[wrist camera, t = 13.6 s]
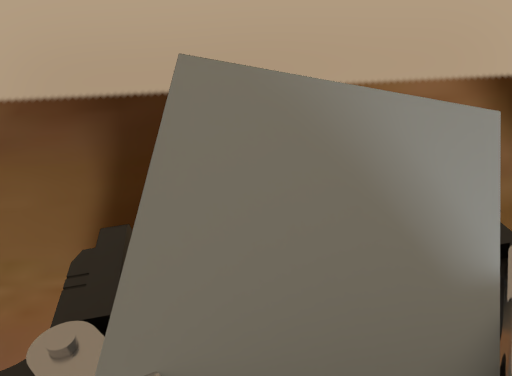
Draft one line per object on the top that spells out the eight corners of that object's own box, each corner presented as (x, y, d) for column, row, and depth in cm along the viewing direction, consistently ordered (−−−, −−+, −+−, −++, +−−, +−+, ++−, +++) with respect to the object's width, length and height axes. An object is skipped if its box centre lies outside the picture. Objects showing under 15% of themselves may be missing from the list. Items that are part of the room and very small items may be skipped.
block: (356, 230, 18) (500, 111, 8) (339, 396, 16) (500, 481, 7) (205, 203, 18) (178, 53, 8) (170, 365, 16) (85, 407, 7)
